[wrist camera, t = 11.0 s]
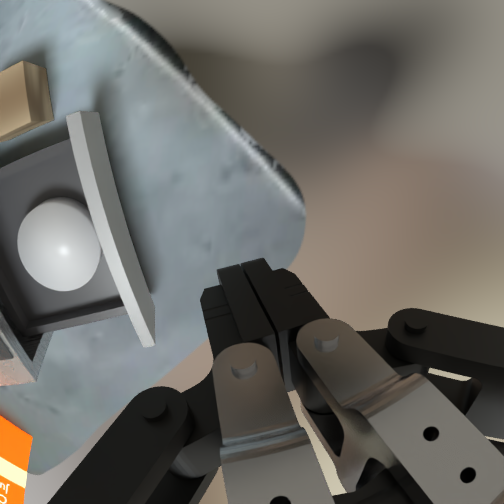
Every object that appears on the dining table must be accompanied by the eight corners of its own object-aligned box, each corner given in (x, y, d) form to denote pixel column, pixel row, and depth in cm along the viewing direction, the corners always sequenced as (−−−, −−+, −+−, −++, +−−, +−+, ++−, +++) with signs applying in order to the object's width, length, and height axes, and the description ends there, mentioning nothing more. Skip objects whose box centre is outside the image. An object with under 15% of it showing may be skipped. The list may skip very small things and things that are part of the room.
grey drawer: (-33, 171, 14) (-68, 186, 10) (99, 112, 16) (79, 110, 12) (34, 334, 21) (20, 370, 17) (154, 306, 23) (155, 345, 19)
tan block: (1, 90, 14) (-27, 88, 10) (46, 68, 14) (22, 60, 11) (9, 140, 15) (-19, 146, 12) (54, 120, 16) (31, 121, 13)
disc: (86, 184, 17) (80, 190, 15) (115, 267, 20) (112, 278, 18) (14, 213, 16) (4, 220, 15) (46, 287, 19) (40, 299, 17)
